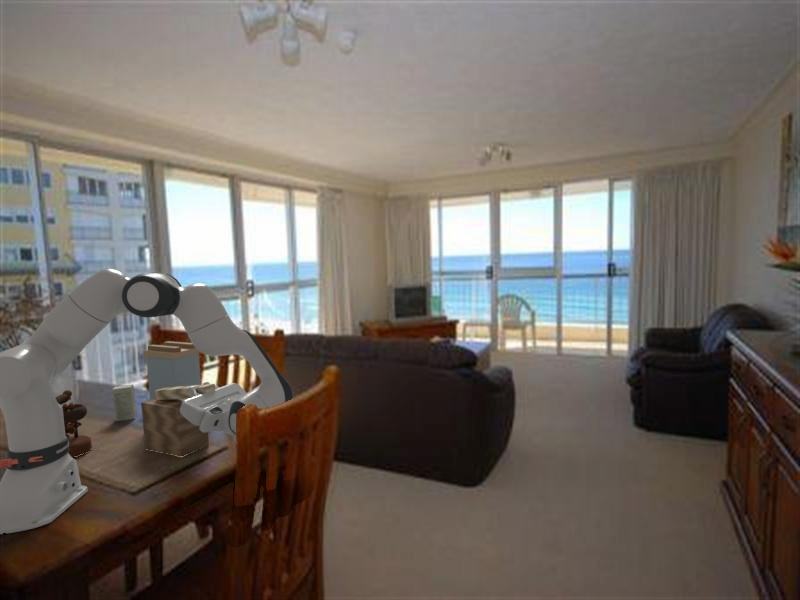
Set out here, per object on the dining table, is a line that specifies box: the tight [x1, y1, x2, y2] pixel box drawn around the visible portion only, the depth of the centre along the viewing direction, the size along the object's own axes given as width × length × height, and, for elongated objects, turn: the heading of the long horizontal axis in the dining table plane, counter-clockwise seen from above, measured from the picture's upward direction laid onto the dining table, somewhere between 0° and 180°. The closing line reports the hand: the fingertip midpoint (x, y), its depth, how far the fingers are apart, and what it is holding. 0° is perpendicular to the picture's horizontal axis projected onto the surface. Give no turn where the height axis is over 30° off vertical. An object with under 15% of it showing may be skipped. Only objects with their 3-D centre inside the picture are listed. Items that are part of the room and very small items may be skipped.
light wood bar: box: [155, 383, 216, 400], centre depth 140 cm, size 22×4×3 cm, turn 65°
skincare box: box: [111, 383, 138, 422], centre depth 171 cm, size 6×4×12 cm
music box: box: [55, 389, 93, 457], centre depth 142 cm, size 15×11×20 cm
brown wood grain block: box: [141, 398, 210, 456], centre depth 143 cm, size 16×10×15 cm, turn 65°
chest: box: [143, 340, 202, 400], centre depth 164 cm, size 15×11×28 cm
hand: (197, 386), depth 137 cm, fingers closed on light wood bar, 3 cm apart
